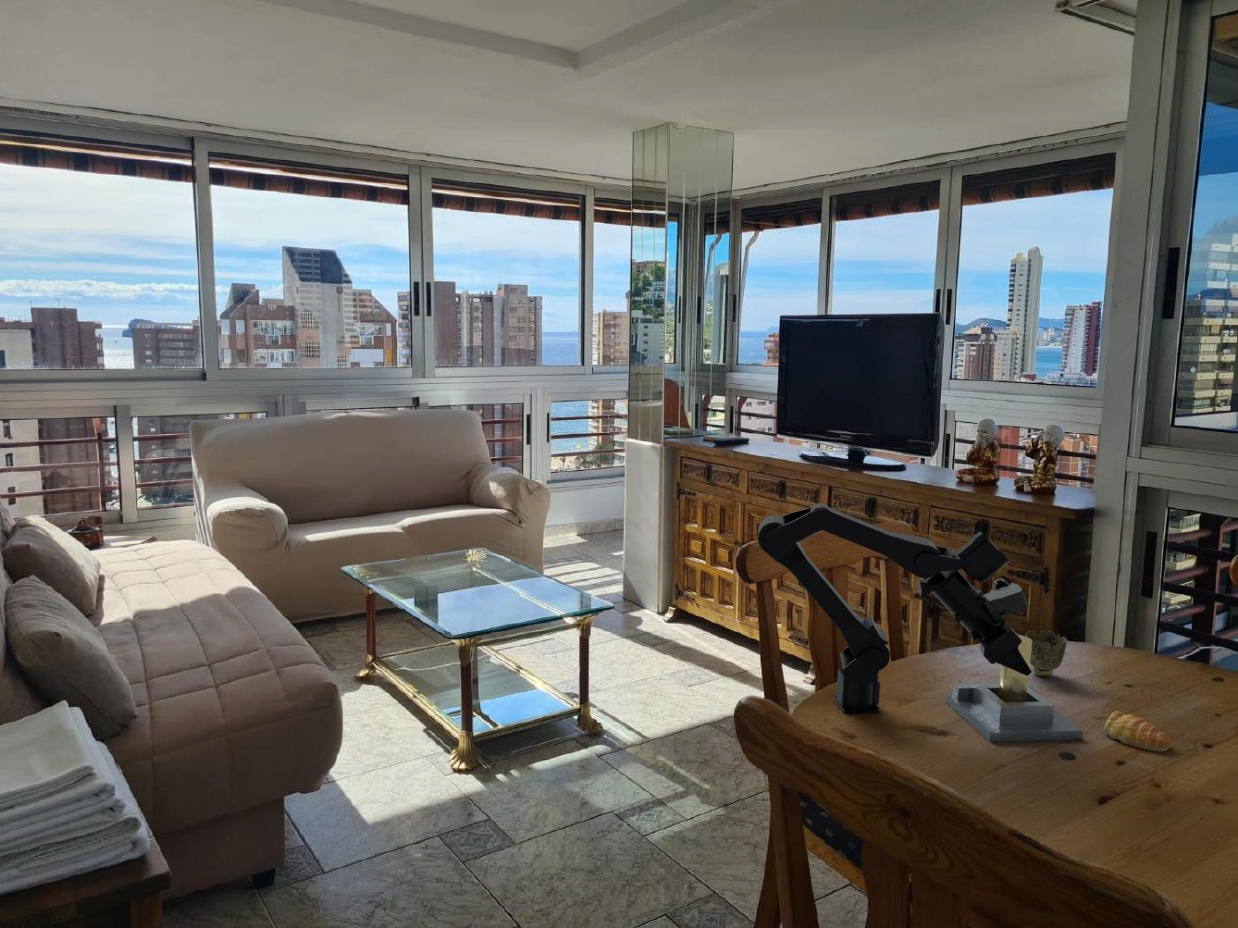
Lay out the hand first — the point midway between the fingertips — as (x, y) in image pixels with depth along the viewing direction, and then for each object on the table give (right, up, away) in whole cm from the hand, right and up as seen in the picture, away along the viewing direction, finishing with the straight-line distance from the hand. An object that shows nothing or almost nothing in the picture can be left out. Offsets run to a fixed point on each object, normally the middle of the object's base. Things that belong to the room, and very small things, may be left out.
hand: (1024, 666), depth 155 cm
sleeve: (-2, -8, +2) cm, 8 cm away
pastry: (+16, -11, -5) cm, 20 cm away
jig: (-2, -10, +2) cm, 10 cm away
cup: (+14, -7, +22) cm, 27 cm away
